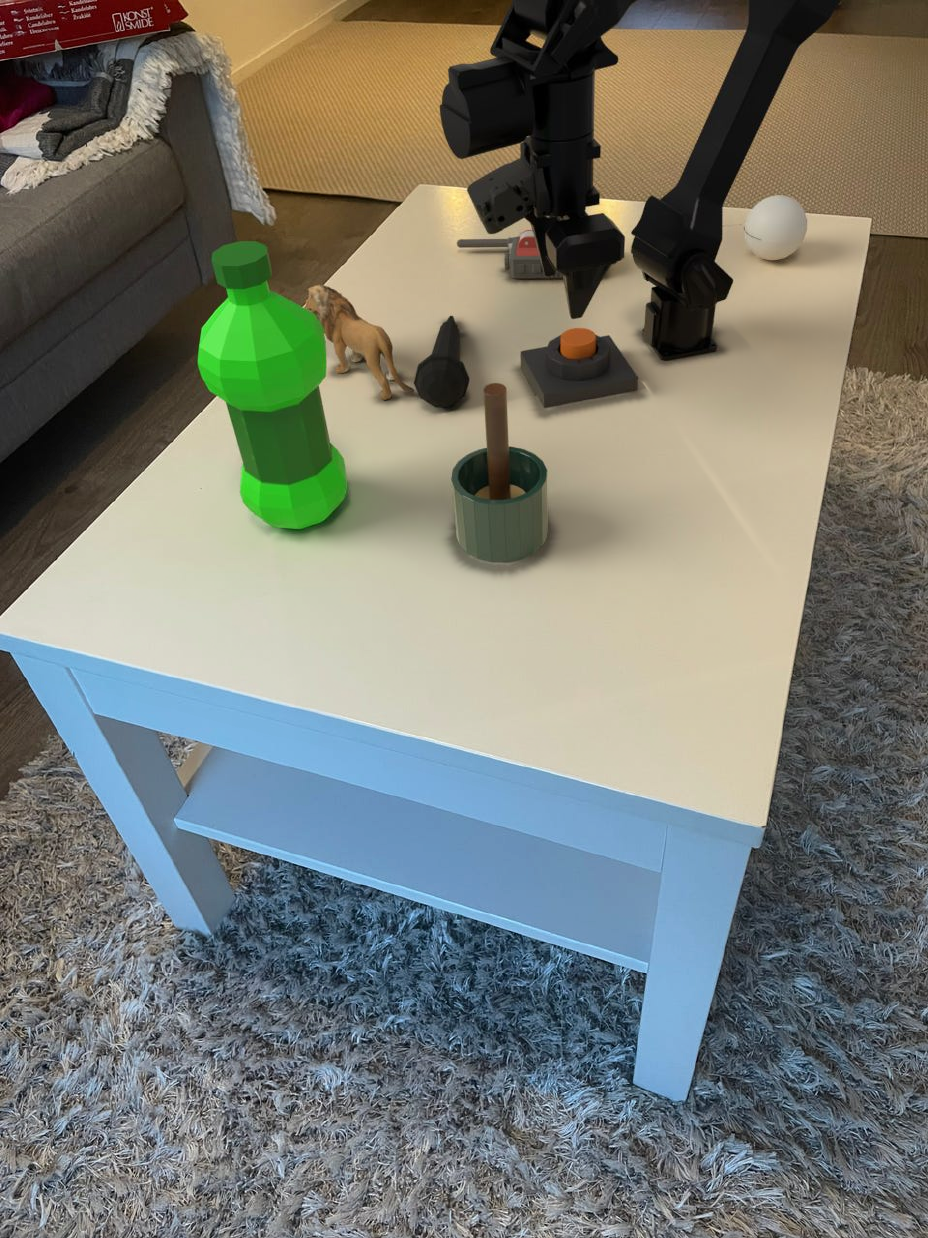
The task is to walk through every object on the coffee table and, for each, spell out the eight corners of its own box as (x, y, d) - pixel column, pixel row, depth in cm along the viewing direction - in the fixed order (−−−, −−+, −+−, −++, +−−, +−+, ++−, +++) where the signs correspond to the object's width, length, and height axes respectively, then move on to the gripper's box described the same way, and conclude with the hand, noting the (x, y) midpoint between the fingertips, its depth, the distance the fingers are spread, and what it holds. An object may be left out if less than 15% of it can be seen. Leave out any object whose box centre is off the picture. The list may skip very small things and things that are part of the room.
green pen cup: (533, 501, 89) (532, 438, 84) (558, 557, 83) (559, 493, 78) (448, 518, 88) (442, 455, 83) (468, 576, 82) (463, 512, 77)
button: (589, 340, 101) (589, 325, 100) (600, 357, 99) (600, 341, 97) (556, 346, 101) (556, 331, 99) (566, 363, 98) (566, 348, 97)
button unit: (608, 352, 106) (609, 319, 103) (636, 395, 100) (639, 361, 97) (520, 369, 105) (519, 335, 102) (544, 413, 99) (543, 379, 96)
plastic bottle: (311, 465, 95) (255, 212, 77) (378, 511, 89) (335, 249, 71) (225, 514, 90) (145, 256, 73) (291, 565, 85) (221, 300, 67)
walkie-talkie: (612, 247, 124) (458, 249, 126) (614, 213, 121) (456, 216, 123) (611, 279, 118) (449, 281, 120) (613, 244, 114) (447, 246, 117)
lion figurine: (303, 367, 108) (287, 291, 102) (337, 346, 111) (323, 271, 104) (398, 408, 101) (388, 330, 95) (432, 385, 104) (423, 307, 97)
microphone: (439, 347, 115) (425, 425, 99) (420, 303, 112) (403, 376, 96) (481, 332, 113) (475, 408, 98) (464, 286, 110) (454, 358, 95)
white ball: (804, 246, 120) (816, 186, 115) (797, 273, 116) (809, 212, 110) (723, 239, 123) (731, 180, 118) (713, 265, 118) (721, 205, 113)
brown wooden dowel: (521, 510, 87) (516, 367, 77) (535, 543, 84) (533, 399, 73) (469, 520, 86) (457, 378, 76) (482, 554, 83) (471, 411, 73)
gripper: (449, 109, 90) (463, 268, 101) (497, 184, 77) (506, 357, 88) (564, 90, 91) (565, 250, 102) (630, 161, 78) (623, 335, 89)
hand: (562, 295), depth 95 cm, fingers open, 9 cm apart
